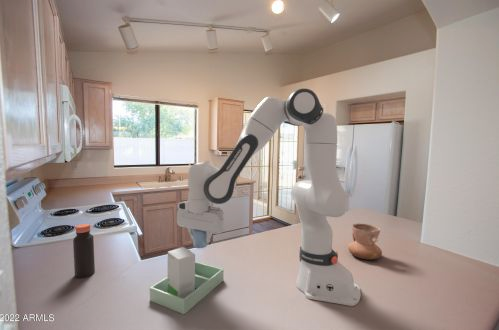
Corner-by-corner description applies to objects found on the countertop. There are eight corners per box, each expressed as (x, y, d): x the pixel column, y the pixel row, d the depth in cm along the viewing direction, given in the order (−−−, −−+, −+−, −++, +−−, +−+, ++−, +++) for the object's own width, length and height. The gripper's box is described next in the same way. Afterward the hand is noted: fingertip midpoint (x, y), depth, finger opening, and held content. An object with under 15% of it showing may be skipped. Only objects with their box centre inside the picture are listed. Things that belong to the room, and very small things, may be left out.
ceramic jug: (390, 263, 109) (391, 232, 108) (359, 264, 108) (360, 232, 107) (367, 248, 127) (368, 221, 126) (340, 248, 126) (341, 221, 125)
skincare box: (167, 294, 86) (166, 251, 85) (184, 287, 90) (183, 245, 89) (178, 305, 80) (178, 259, 79) (196, 296, 84) (195, 253, 83)
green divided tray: (223, 280, 95) (223, 269, 95) (184, 314, 75) (183, 300, 75) (193, 271, 102) (193, 260, 101) (149, 300, 82) (149, 287, 82)
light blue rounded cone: (201, 249, 90) (201, 233, 90) (190, 246, 92) (190, 231, 92) (210, 244, 95) (210, 229, 94) (199, 241, 97) (199, 227, 97)
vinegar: (98, 272, 101) (96, 224, 99) (80, 280, 95) (77, 229, 93) (89, 268, 104) (87, 222, 103) (71, 275, 98) (69, 226, 97)
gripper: (227, 206, 90) (227, 242, 91) (185, 200, 100) (185, 233, 101) (218, 210, 85) (218, 249, 86) (174, 203, 94) (174, 238, 95)
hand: (200, 240), depth 93 cm, fingers closed on light blue rounded cone, 5 cm apart
